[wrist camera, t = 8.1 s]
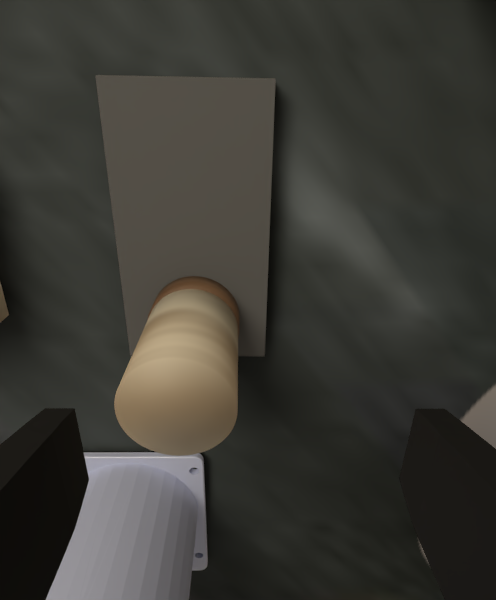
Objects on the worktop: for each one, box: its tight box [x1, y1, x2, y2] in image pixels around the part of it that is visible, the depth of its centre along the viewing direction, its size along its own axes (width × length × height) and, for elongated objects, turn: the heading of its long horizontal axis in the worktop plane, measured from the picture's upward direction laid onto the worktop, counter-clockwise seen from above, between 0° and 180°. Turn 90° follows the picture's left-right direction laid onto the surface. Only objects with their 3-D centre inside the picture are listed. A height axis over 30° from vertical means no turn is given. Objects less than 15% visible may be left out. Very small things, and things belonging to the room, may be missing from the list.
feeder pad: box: [95, 75, 276, 356], centre depth 16 cm, size 11×6×1 cm, turn 179°
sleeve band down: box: [114, 276, 239, 456], centre depth 15 cm, size 4×4×6 cm
